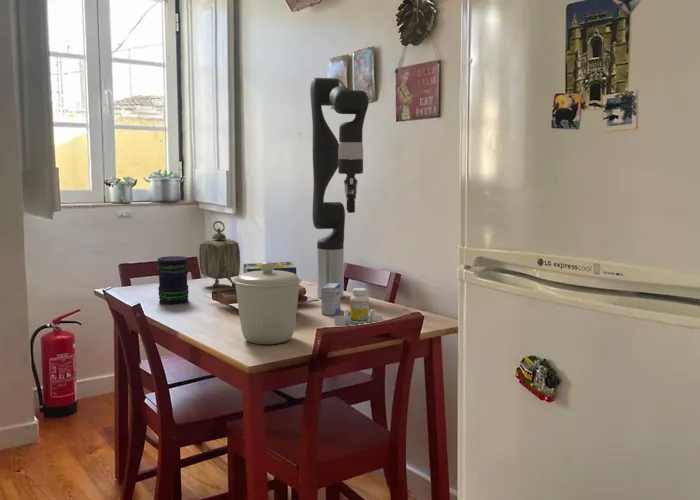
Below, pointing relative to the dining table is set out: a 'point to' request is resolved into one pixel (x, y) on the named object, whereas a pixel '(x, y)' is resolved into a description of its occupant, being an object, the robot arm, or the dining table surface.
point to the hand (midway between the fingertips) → (350, 211)
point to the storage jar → (173, 280)
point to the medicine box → (330, 298)
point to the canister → (267, 304)
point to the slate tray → (346, 322)
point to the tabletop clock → (219, 257)
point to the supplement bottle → (359, 306)
